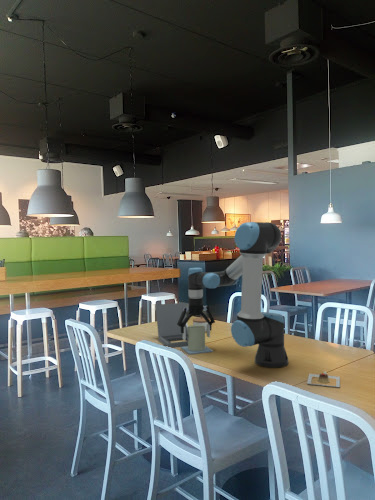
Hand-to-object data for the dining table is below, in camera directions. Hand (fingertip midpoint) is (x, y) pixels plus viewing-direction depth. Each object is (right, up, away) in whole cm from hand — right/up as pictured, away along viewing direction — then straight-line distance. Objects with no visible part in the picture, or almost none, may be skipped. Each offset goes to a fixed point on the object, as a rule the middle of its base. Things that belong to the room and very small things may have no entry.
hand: (196, 338), depth 208 cm
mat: (0, -6, 0) cm, 6 cm away
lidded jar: (+4, -5, +42) cm, 43 cm away
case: (-11, -6, +18) cm, 22 cm away
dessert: (+50, -7, -49) cm, 70 cm away
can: (0, -6, 0) cm, 6 cm away
